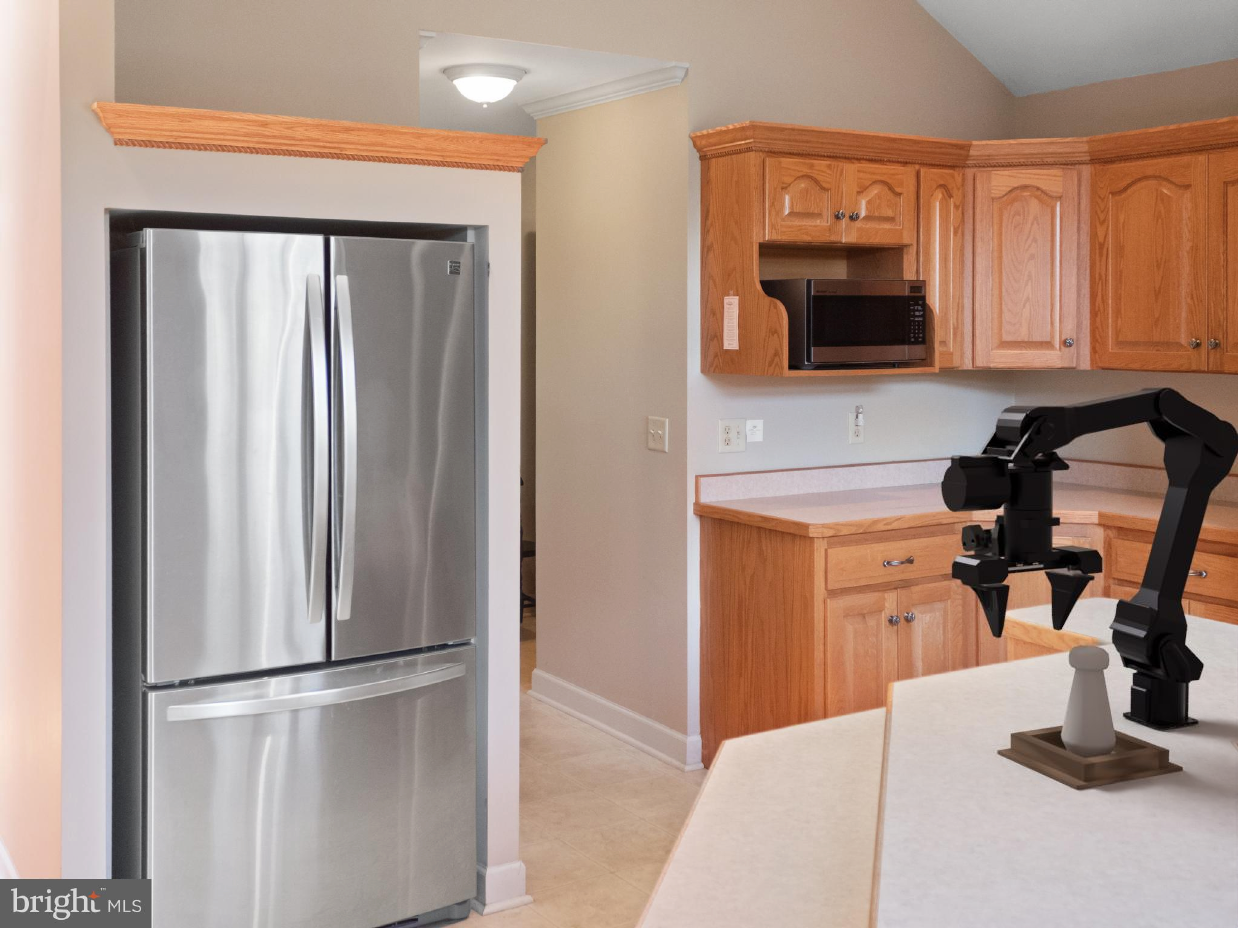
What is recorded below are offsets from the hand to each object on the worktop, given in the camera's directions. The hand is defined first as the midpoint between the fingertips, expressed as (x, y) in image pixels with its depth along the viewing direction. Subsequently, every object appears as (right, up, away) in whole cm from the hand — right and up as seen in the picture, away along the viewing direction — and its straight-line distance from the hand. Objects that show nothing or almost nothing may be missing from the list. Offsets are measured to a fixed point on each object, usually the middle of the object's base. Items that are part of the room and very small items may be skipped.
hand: (1027, 633), depth 142 cm
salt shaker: (+4, -13, -9) cm, 16 cm away
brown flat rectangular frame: (+4, -14, -9) cm, 17 cm away
